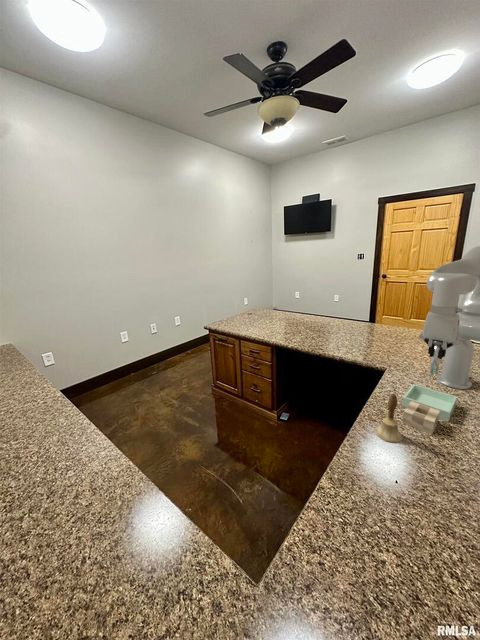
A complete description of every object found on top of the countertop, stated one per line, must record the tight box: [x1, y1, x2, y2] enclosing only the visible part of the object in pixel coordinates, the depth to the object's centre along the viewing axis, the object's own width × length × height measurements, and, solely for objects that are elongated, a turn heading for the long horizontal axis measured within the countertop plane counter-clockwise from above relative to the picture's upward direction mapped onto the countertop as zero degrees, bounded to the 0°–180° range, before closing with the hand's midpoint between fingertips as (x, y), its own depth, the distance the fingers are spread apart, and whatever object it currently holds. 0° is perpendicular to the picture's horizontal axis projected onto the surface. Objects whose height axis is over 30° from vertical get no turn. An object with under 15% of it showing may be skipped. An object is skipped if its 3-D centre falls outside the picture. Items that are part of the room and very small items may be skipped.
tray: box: [401, 383, 458, 423], centre depth 103 cm, size 14×15×4 cm
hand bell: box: [374, 393, 403, 444], centre depth 87 cm, size 8×8×16 cm
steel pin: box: [429, 340, 443, 375], centre depth 98 cm, size 4×4×13 cm
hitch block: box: [401, 401, 440, 435], centre depth 94 cm, size 9×9×5 cm
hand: (436, 356), depth 98 cm, fingers closed on steel pin, 2 cm apart
